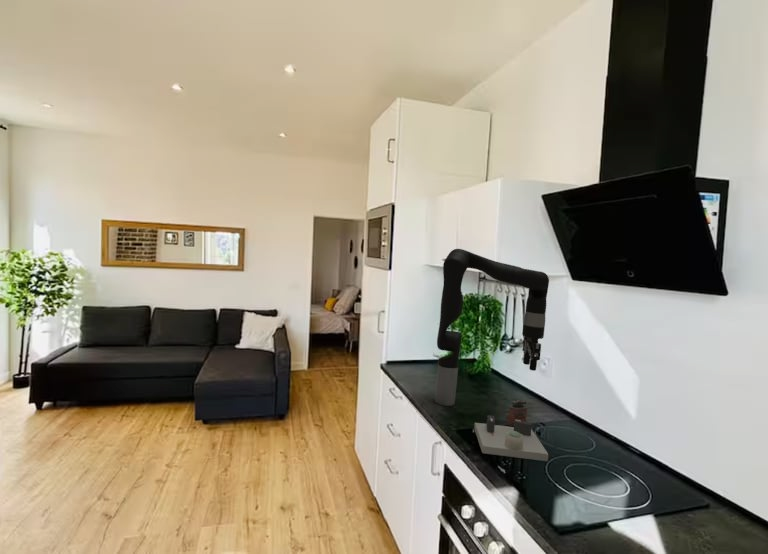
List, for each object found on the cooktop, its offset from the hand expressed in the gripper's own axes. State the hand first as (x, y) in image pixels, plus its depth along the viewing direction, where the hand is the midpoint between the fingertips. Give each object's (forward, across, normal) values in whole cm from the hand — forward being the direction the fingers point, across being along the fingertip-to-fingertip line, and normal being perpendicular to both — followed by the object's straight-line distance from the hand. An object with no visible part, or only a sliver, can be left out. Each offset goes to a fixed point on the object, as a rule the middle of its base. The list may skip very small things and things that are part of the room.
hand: (529, 367), depth 150 cm
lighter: (+28, +15, -2) cm, 32 cm away
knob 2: (+25, 0, 0) cm, 25 cm away
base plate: (+28, -5, +6) cm, 29 cm away
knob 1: (+25, 0, +12) cm, 28 cm away
